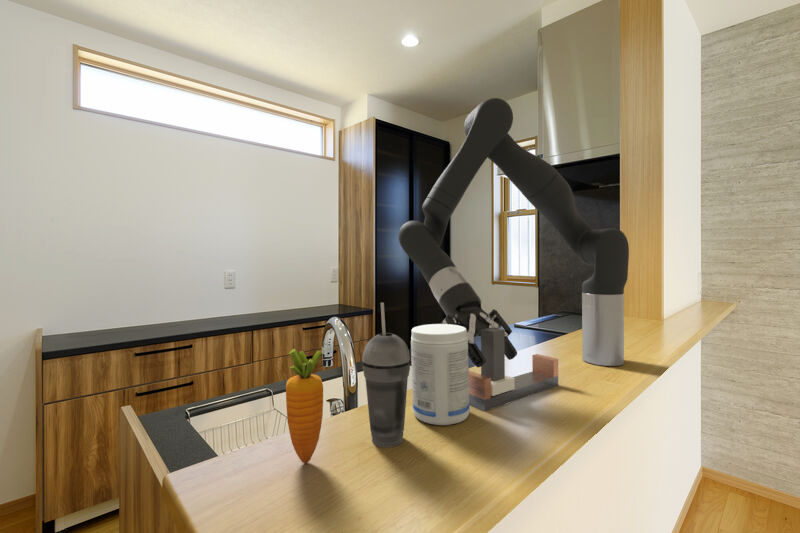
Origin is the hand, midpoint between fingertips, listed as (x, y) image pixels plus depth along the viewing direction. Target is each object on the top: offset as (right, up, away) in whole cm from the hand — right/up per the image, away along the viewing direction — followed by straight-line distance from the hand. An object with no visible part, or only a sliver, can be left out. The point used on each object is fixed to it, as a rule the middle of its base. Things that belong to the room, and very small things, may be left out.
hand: (498, 360), depth 68 cm
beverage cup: (-20, -8, -13) cm, 25 cm away
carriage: (-1, -5, +1) cm, 6 cm away
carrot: (-30, -9, -19) cm, 37 cm away
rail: (+4, -8, +5) cm, 10 cm away
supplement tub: (-11, -8, -5) cm, 15 cm away
